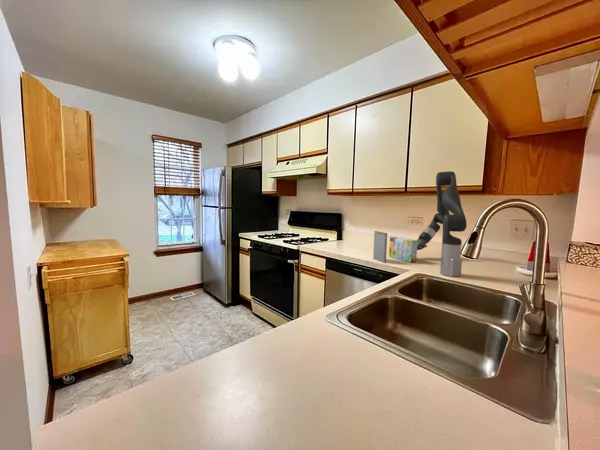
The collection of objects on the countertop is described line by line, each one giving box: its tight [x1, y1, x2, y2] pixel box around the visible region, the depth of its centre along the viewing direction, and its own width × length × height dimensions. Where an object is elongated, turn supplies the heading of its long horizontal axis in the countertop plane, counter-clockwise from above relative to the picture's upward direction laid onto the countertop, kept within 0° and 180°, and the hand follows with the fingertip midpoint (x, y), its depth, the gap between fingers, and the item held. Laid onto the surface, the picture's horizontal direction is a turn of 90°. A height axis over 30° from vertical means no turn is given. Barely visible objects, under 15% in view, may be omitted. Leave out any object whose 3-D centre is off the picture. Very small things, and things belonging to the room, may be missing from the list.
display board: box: [372, 230, 388, 264], centre depth 175 cm, size 13×2×20 cm, turn 15°
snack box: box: [388, 236, 418, 264], centre depth 180 cm, size 21×6×15 cm, turn 22°
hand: (411, 252), depth 183 cm, fingers closed
